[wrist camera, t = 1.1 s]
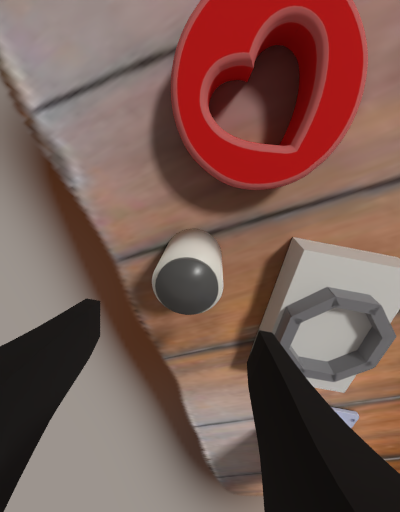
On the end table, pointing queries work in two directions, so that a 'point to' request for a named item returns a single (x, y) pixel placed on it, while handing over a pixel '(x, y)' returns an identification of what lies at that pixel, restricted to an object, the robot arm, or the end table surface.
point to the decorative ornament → (240, 68)
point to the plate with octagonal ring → (334, 310)
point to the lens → (189, 273)
